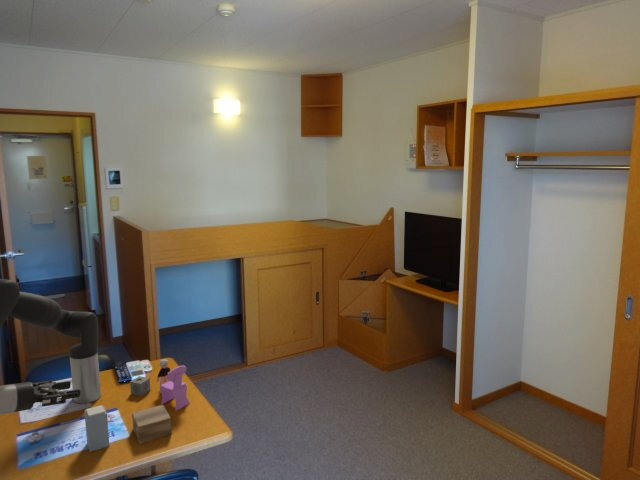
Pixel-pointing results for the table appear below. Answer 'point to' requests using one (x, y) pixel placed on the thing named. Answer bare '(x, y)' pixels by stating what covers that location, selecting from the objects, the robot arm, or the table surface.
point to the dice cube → (140, 385)
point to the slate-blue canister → (96, 428)
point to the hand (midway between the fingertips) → (74, 388)
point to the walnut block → (151, 423)
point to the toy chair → (175, 388)
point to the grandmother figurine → (163, 372)
